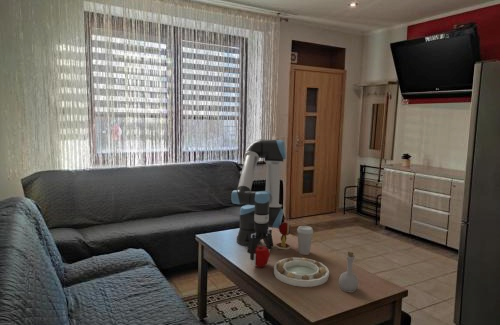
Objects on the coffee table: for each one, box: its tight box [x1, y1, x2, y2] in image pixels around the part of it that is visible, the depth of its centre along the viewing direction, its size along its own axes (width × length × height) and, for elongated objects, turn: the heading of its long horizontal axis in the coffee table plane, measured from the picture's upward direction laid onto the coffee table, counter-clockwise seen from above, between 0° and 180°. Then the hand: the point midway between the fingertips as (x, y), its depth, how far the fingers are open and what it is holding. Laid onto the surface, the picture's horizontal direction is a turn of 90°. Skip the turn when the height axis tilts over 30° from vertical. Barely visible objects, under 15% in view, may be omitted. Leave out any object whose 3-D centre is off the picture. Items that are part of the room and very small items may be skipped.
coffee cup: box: [296, 225, 314, 256], centre depth 202 cm, size 10×10×15 cm
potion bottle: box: [338, 251, 359, 293], centre depth 159 cm, size 9×9×18 cm
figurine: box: [274, 222, 292, 250], centre depth 210 cm, size 9×10×15 cm
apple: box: [255, 245, 271, 268], centre depth 182 cm, size 10×10×11 cm
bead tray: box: [273, 257, 330, 288], centre depth 174 cm, size 27×27×4 cm
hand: (260, 262), depth 182 cm, fingers closed on apple, 10 cm apart
